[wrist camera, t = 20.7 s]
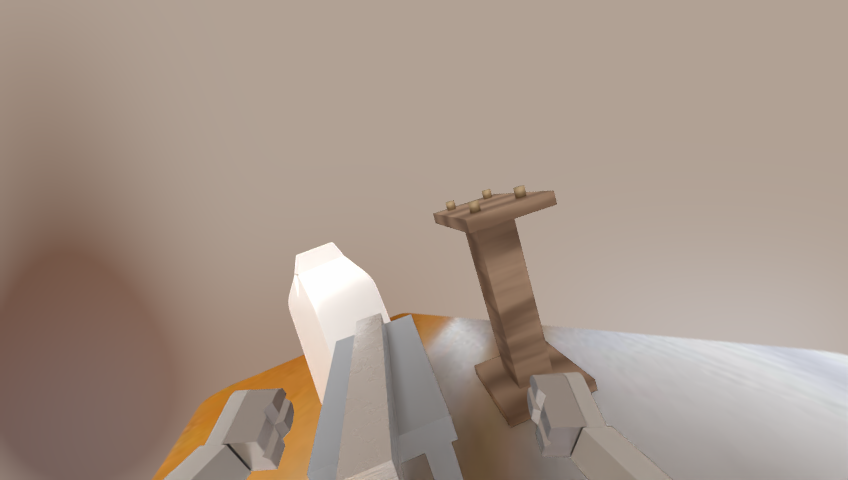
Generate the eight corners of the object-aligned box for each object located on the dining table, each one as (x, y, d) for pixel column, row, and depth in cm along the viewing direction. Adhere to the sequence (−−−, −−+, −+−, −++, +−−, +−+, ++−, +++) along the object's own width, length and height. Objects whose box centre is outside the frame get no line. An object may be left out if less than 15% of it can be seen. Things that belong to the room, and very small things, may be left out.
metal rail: (406, 498, 17) (391, 459, 16) (351, 522, 16) (335, 482, 16) (387, 331, 38) (380, 312, 38) (363, 339, 38) (356, 321, 38)
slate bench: (503, 580, 24) (450, 414, 22) (379, 643, 23) (306, 474, 20) (442, 411, 44) (410, 314, 41) (373, 440, 43) (336, 341, 40)
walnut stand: (609, 399, 38) (559, 176, 33) (518, 439, 36) (453, 211, 31) (538, 341, 53) (497, 184, 49) (472, 367, 52) (424, 208, 47)
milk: (356, 427, 46) (292, 261, 42) (321, 404, 54) (265, 263, 50) (413, 377, 54) (365, 233, 50) (375, 363, 62) (331, 239, 58)
